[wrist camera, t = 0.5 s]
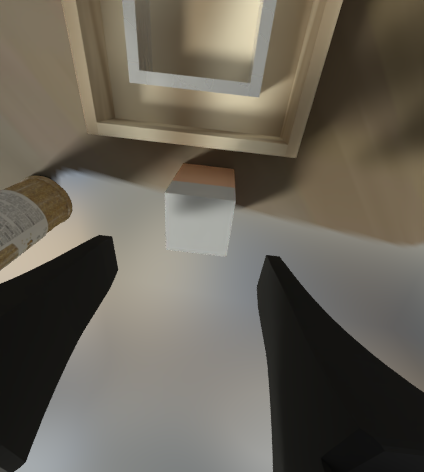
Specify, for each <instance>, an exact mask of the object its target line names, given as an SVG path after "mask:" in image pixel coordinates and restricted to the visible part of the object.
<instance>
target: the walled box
mask: <svg viewBox="0 0 424 472" xmlns="http://www.w3.org/2000/svg"><path fill="white" fill-rule="evenodd" d="M61 1H62V6H63V11H64V16H65V22H66V27H67V32H68V37H69V42H70V47H71V52H72V57H73V62H74V67H75V72H76V77H77V82H78V88H79V93H80V98H81V103H82V108H83V113H84V118H85V123H86V128H87V133H88V134H94V135H103V136H111V137H120V138H128V139H137V140H146V141H154V142H163V143H171V144H180V145H188V146H197V147H206V148H214V149H223V150H231V151H240V152H248V153H257V154H266V155H274V156H283V157H291V158H296V157H297V153H298V150H299V147H300V143H301V140H302V136H303V133H304V130H305V126H306V123H307V120H308V116H309V113H310V110H311V106H312V103H313V100H314V96H315V93H316V89H317V86H318V83H319V79H320V76H321V73H322V69H323V66H324V63H325V59H326V56H327V52H328V49H329V46H330V42H331V39H332V36H333V32H334V29H335V26H336V22H337V19H338V15H339V12H340V9H341V5H342V2H343V0H277V2H276V8H275V13H274V19H273V24H272V30H271V35H270V41H269V46H268V52H267V57H266V63H265V68H264V74H263V79H262V85H261V90H260V96H259V97H250V96H241V95H233V94H224V93H215V92H207V91H198V90H189V89H181V88H172V87H163V86H155V85H146V84H137V83H129V72H128V61H127V50H126V39H125V28H124V17H123V6H122V0H61ZM259 5H260V0H150V17H151V41H152V65H153V72H158V73H167V74H175V75H184V76H193V77H201V78H210V79H219V80H228V81H236V82H245V83H248V77H249V71H250V64H251V58H252V51H253V44H254V38H255V31H256V25H257V18H258V12H259Z"/></svg>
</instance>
